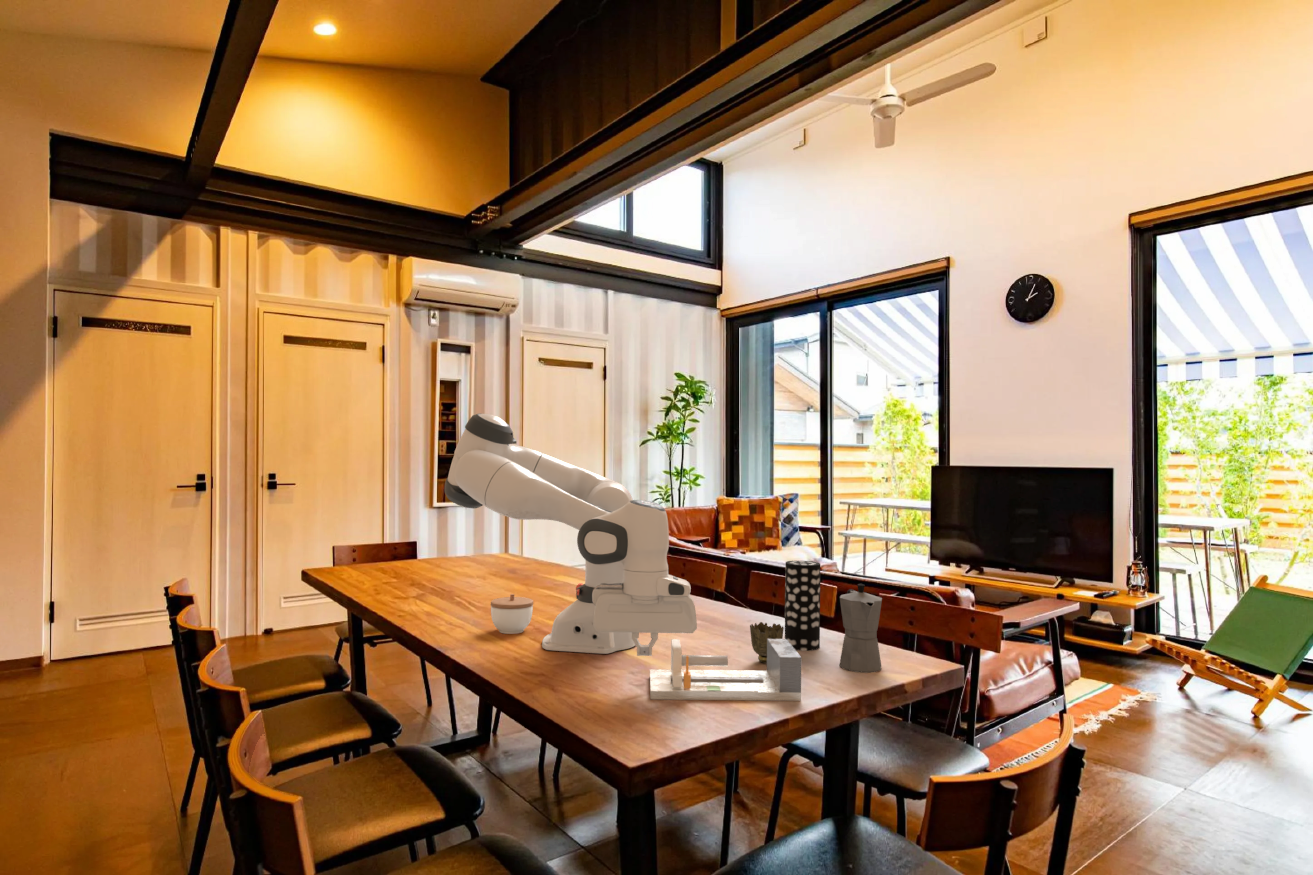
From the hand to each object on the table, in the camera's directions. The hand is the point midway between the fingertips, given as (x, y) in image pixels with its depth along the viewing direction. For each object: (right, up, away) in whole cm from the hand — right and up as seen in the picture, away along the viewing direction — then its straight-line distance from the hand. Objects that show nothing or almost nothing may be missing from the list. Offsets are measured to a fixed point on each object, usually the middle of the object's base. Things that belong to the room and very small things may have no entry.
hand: (644, 655), depth 142 cm
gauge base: (+15, -7, 0) cm, 16 cm away
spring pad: (+11, -4, -1) cm, 12 cm away
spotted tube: (+37, -8, +34) cm, 51 cm away
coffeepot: (+47, -8, +18) cm, 51 cm away
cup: (+27, -8, +19) cm, 34 cm away
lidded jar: (-35, -7, +44) cm, 57 cm away
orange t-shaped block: (+8, -4, -6) cm, 11 cm away
